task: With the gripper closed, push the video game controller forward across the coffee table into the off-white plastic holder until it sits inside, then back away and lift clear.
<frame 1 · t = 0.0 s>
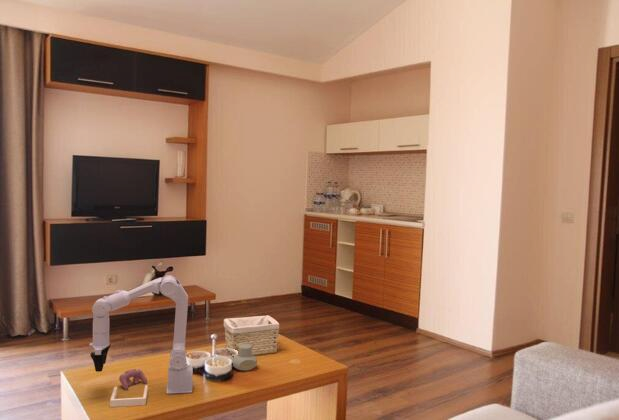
hand: (100, 367, 195), 10 cm above the table, tool pointing down, fingers open, 7 cm apart
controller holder: (129, 397, 193), on the table
video game controller: (132, 385, 205), on the table
storage basket: (250, 351, 250), on the table
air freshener: (244, 368, 227), on the table
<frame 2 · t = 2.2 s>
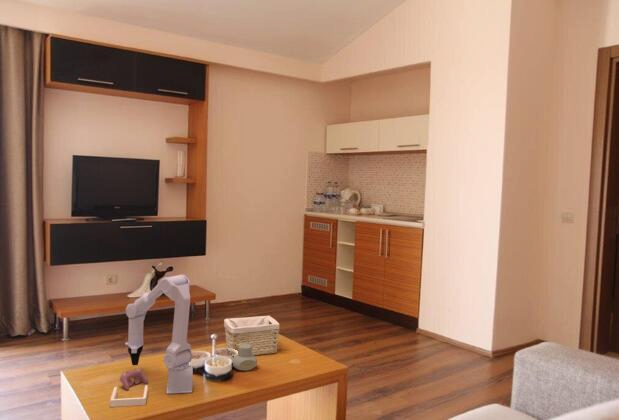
hand: (135, 364, 214), 4 cm above the table, tool pointing down, fingers closed
nothing on the table moved.
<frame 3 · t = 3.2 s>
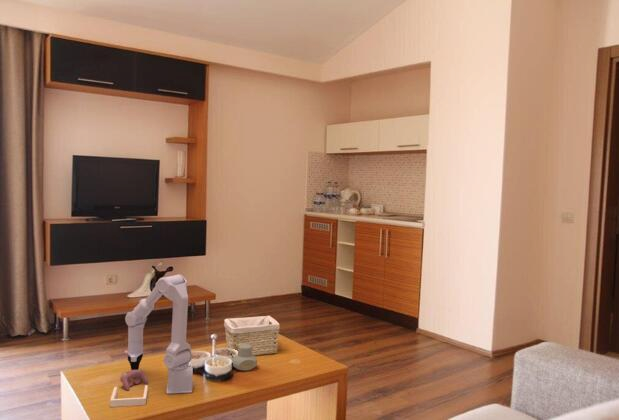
hand: (134, 373, 213), 1 cm above the table, tool pointing down, fingers closed
nothing on the table moved.
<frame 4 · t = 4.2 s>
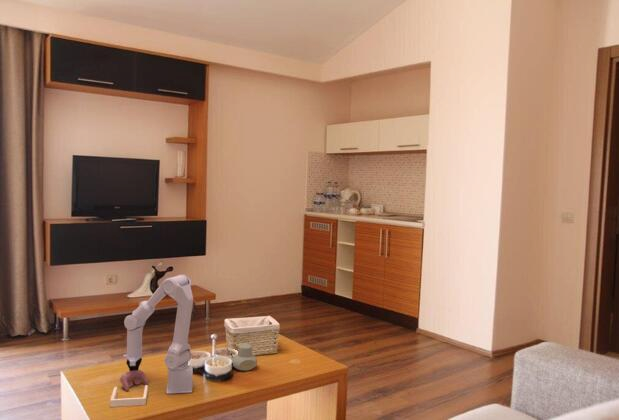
hand: (133, 377, 209), 1 cm above the table, tool pointing down, fingers closed
video game controller: (134, 386, 204), on the table, touching gripper
everything else where it was.
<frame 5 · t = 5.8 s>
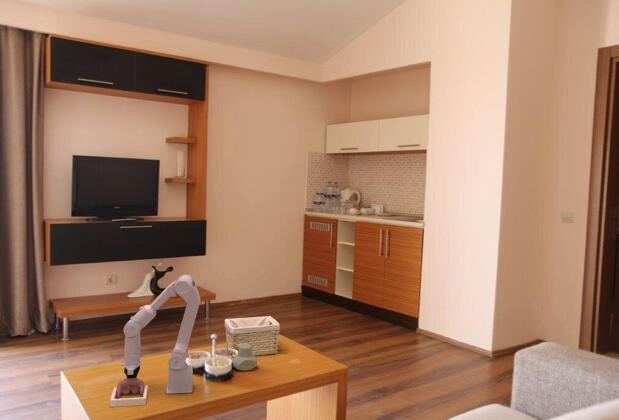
hand: (131, 386, 200), 1 cm above the table, tool pointing down, fingers closed
video game controller: (130, 395, 196), on the table, touching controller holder, gripper
everything else where it was.
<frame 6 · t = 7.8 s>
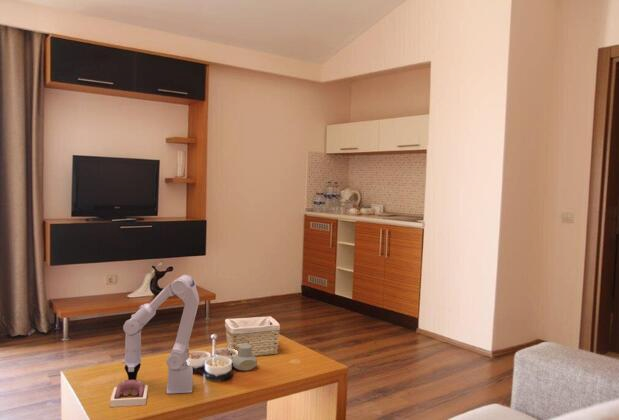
hand: (132, 383, 203), 1 cm above the table, tool pointing down, fingers closed
video game controller: (130, 397, 194), on the table
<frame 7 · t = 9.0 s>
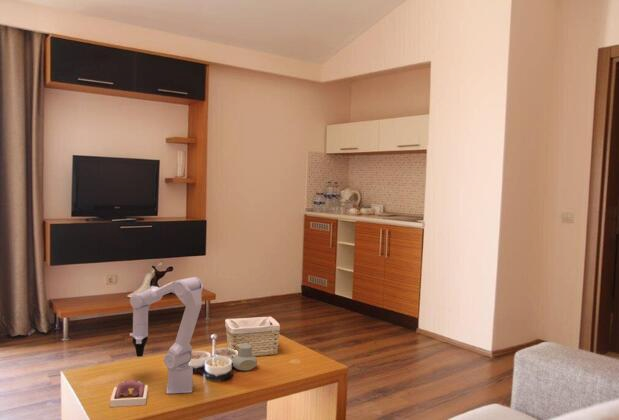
hand: (139, 356, 211), 9 cm above the table, tool pointing down, fingers closed
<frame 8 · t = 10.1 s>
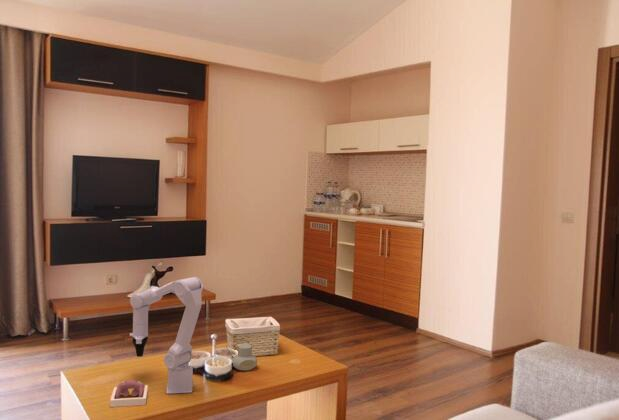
hand: (139, 356, 211), 9 cm above the table, tool pointing down, fingers closed
at the end: video game controller 1.1 cm off-centre on the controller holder, point 0.0 cm above the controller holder's base; video game controller moved 11.4 cm from its start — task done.
